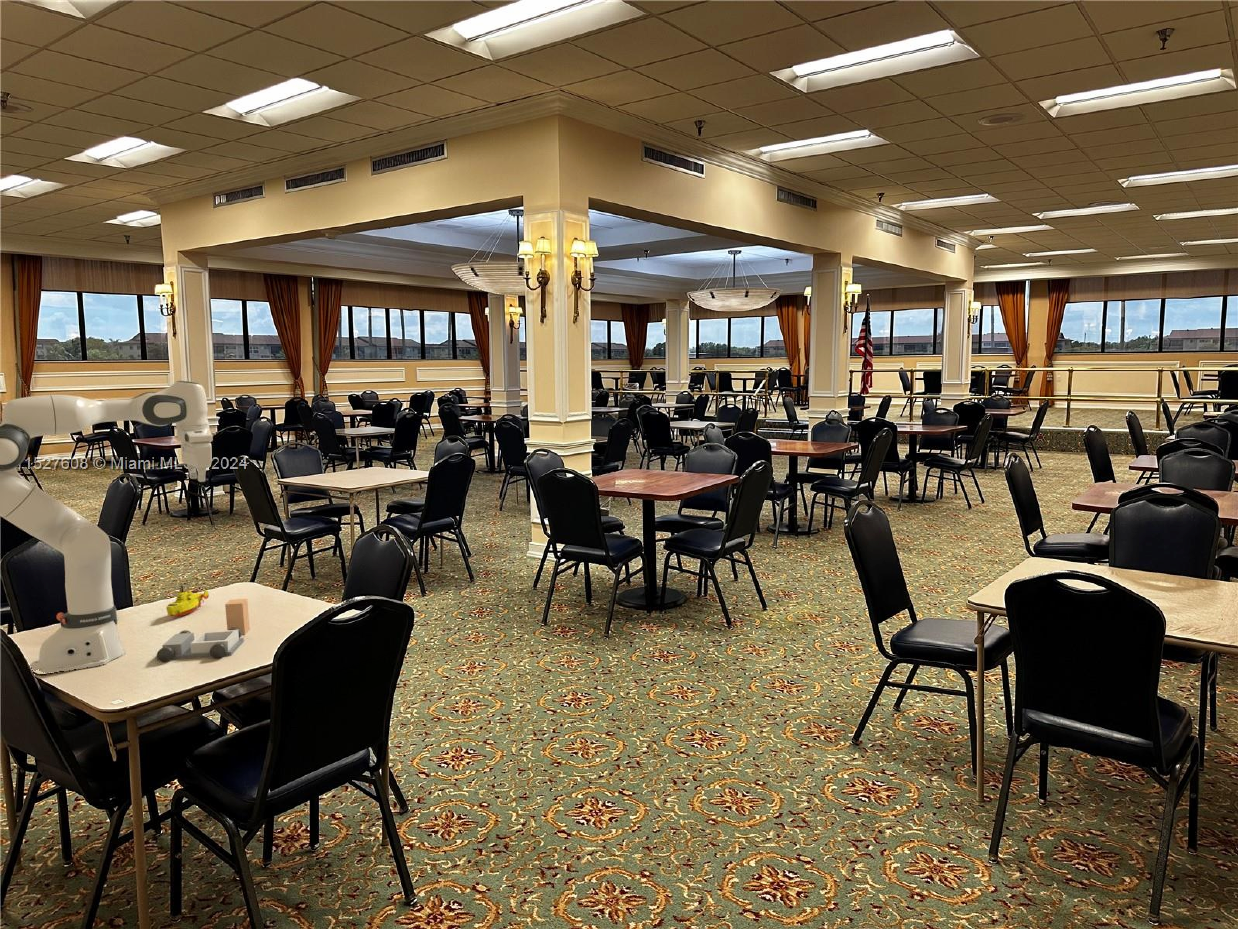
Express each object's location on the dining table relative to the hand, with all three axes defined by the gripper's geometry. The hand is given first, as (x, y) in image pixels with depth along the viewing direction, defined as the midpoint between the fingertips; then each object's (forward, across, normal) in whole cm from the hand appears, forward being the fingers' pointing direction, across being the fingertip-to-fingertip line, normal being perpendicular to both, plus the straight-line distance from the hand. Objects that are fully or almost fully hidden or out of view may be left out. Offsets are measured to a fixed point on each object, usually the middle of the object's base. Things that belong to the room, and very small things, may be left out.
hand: (197, 480), depth 251 cm
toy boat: (+48, -28, -1) cm, 56 cm away
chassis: (+48, +16, -7) cm, 51 cm away
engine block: (+48, +6, +6) cm, 49 cm away
